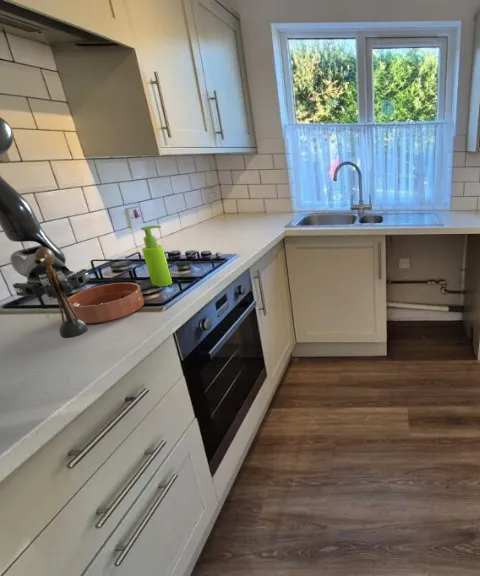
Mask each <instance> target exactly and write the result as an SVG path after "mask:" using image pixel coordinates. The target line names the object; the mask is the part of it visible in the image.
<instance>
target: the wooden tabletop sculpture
mask: <svg viewBox="0 0 480 576" xmlns="http://www.w3.org/2000/svg"><path fill="white" fill-rule="evenodd" d="M36 259H37V260H35V263H36V264H38V265H39V264H41V265H43V266H46V267H47V270H46V271H45V272H47V274H48V277H49V279H50V282H51V284H52V286H53V287H54V289H55V291H56V294H57V297H58V298H56V300H57V303H58V307H59V311H60V316H61V321H62V323H61V324H60V327H59V334H60V337H61V338H63V339H73V338H75V337H76V338H77V337H79V336H82V335H85V334H86V333H87V332H88V331H89V327H88V325H87V323H84V322H83V321H81V320H80V319H79V318H78V317H77V315H76V314H75V313H74V311H73V309H72V307H71V306H70V304H69V302H68V300H67V299H68V297H67V295H66V294H65V293H64V291H63V289H62V286H61V284H60V281H59V278H58V275H57V273H56V269H52V266H51V265H52V264H53V263H54V261H55V255H54V253H53V252H52V251H51V250H50V249H48V248H46V247H44V248H39V249H38V250H37V251H36ZM56 278H57V279H56ZM57 281H58V282H57ZM59 286H60V287H59ZM66 302H67V304H68V306H69V308H70V310H71V311H72V313H73V314H74V316H75V317H76V318H72V316H71V313H70V311H69V309H68V307H67V304H66ZM64 315H65V316H64Z"/></svg>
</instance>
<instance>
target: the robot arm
mask: <svg viewBox="0 0 480 576" xmlns="http://www.w3.org/2000/svg"><path fill="white" fill-rule="evenodd" d="M13 142H14V132H13V130H12V128H11V125H10V124H9V123H8V122H7V121H6V120H5V119H4V118H2V117H1V116H0V157H2V155H4V154H6V153H7V152H8V151H9V150H10V149H11V147H12V145H13ZM0 228H1V230H2V231H3V233H4V236H6V237H7V239H8V240H9V241H11V242H15V243H16V242H17V243H18V242H19V243H25V242H32V243H33V242H34V243H37V244H38V245H36V246H31V247H27V248H22V249H18V250H16V251H14V252H12V254H11V255H10V258H9V261H10V264H11V266H12V268H13V269H14V270H15V271H16V272H17V273H18V274H19V275H20V276H23V277H25V278H26V280H27V281H26V282H15V283H13V284H12V287H13V289H14V291H15V294H16V295H17V296H18V297H29V298H40V297H42V296H43V295H46V296H47V298H53V299H57V298H58V297H57V294H56V291H55V289H54V287H53V286H52V284H51V282H50V279H49V277H48V274H47V272H45V271H46V270H47V267H46V266H43V265H41V264H39V265H38V264H36V263H35V260H37V259H36V251H37V250H38V249H39V248H44V247H46V248H48V249H50V250H51V251H52V252H53V253H54V255H55V261H54V263H53V264H52V265H51V266H52V269H56V273H57V275H58V278H59V281H60V284H61V286H62V289H63V291H64V293H65V295H66V296H71V293H73V292H74V290H73V289H78V288H80V287H82V286H83V285H85V284H87V282H89V281H90V280H91V277H90V274H89V272H88V269H87V268H82V269H80V270H79V271H73V270H70V268H68V266H67V265H66V259H67V258H66V255H65V254H64V252H63V251H62V250H61V249H60V248H59V247H58V246H57V245H56V244H55V243H54V242H53V240H51V238H50V237H49V236H48V235H47V234H46V231H44V229H43V228H42V226H41V224H40V222H39V220H38V218H37V216H36V214H35V212H34V210H33V208H32V207H31V205H30V204H29V202H28V201H27V199H25V198H24V197H23V195H22V194H21V193H20V192H18V191H17V190H16V189H15V188H14V187H13V186H11V184H9V182H7V181H6V180H5V179H4V178H3V177H2V176H1V175H0ZM56 279H57V278H56ZM57 282H58V281H57ZM59 287H60V286H59Z"/></svg>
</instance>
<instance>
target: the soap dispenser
mask: <svg viewBox="0 0 480 576" xmlns="http://www.w3.org/2000/svg"><path fill="white" fill-rule="evenodd" d="M161 228H162V226H161V225H156V224H155V225H147V226H146V225H145V226H143V227H140V230H141V231H143V232H144V234H145V236H144V237H143V242H144V245H145V247H143V248H142V249H141V251H142V256H143V258H144V262H145V265H146V269H147V272H148V274H149V278H150V282H151V285H152V284H153V285H157V286H166V287H169V286H171V285H172V284H173V280H172V276H171V273H170V268H169V265H168V261H167V258H166V254H165V250H164V247H163V245H162V244H161V245H160V244H158V241H157V237H156V236H155V235H153V233H152V229H161ZM153 285H152V286H153ZM168 285H169V286H168Z"/></svg>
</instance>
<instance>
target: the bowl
mask: <svg viewBox="0 0 480 576" xmlns="http://www.w3.org/2000/svg"><path fill="white" fill-rule="evenodd" d="M121 296H123V297H124V298H121ZM67 300H68V302H69V304H70V306H71V307H72V309H73V311H74V313H75V314H76V315H77V317H78V318H79V319H80V320H81V321H83V322H84V323H85V324H98V323H105V322H110V321H113V320H118V319H121V318H123V317H126V316H129V315H131V314H132V313H134V312H136V311H138V310H140V309H141V308H142V307H143V306H144V305H145V298H144V295H143V291H142V288H141V285H139V284H138V283H135V282H114V283H108V284H101V285H97V286H94V287H90V288H87V289H84V290H81V291H79V292H77V293H74V294H72V295H70V296H69V297H67ZM65 302H66V301H65ZM101 303H103V304H101ZM66 304H67V302H66ZM96 304H98V305H96ZM67 307H68V309H69V311H70V313H71V316H72V318H76V317H75V316H74V314H73V313H72V311H71V310H70V308H69V306H68V304H67Z"/></svg>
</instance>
